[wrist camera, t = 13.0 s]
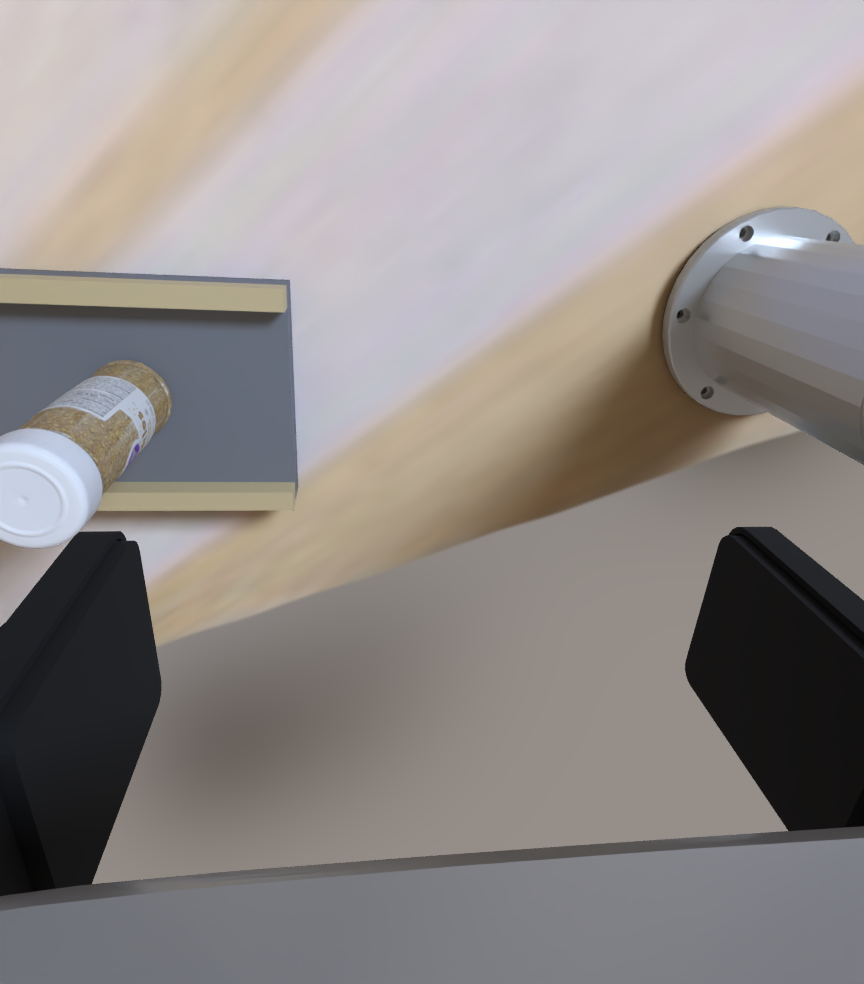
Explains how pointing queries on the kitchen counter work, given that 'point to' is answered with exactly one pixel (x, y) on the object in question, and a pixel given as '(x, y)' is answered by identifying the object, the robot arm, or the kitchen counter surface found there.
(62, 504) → the sprinkles bottle
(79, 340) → the tray
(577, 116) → the kitchen counter surface
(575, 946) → the robot arm
